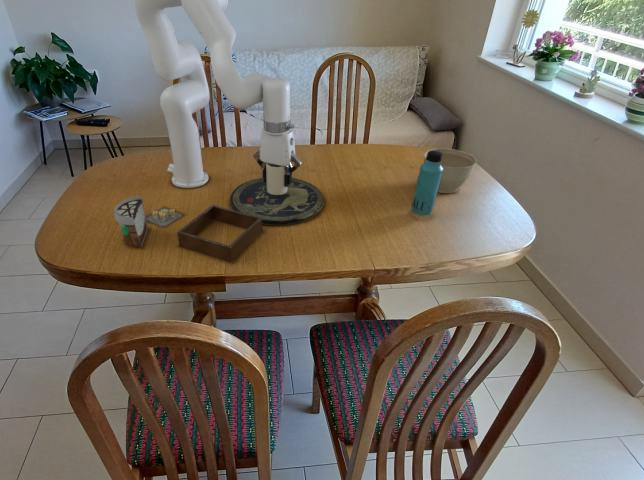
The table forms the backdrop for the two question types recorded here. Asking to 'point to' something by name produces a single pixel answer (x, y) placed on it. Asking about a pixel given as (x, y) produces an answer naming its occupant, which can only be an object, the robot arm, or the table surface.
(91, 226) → the table surface
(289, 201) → the decorative plate
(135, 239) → the food container
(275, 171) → the cup
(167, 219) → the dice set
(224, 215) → the wooden box
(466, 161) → the planter bowl
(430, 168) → the beverage bottle
